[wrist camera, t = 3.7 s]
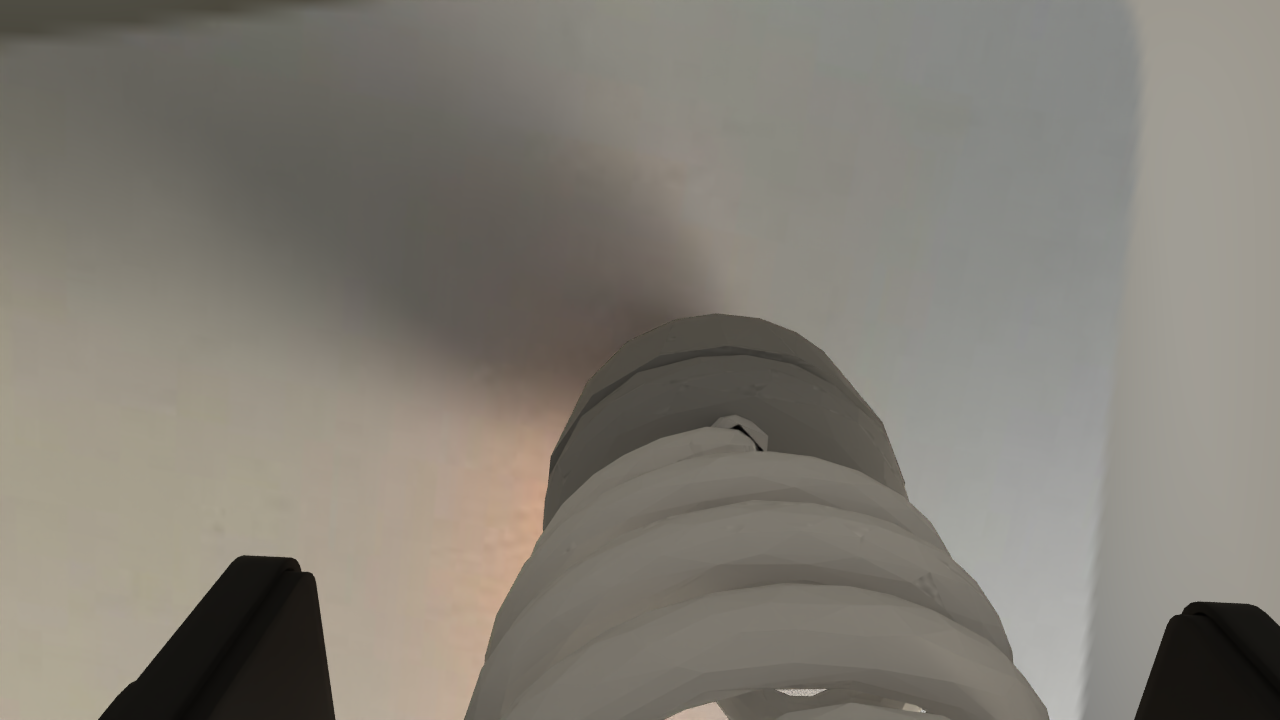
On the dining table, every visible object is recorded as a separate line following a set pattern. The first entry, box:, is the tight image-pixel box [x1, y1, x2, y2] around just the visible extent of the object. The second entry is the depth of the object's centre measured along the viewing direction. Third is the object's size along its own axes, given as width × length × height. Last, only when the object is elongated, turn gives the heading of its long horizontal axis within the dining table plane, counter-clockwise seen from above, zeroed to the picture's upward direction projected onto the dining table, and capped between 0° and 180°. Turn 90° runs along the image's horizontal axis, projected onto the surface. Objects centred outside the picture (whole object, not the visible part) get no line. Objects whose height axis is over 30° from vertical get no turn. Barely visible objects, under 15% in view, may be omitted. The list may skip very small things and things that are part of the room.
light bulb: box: [464, 314, 1049, 720], centre depth 11 cm, size 6×6×12 cm
